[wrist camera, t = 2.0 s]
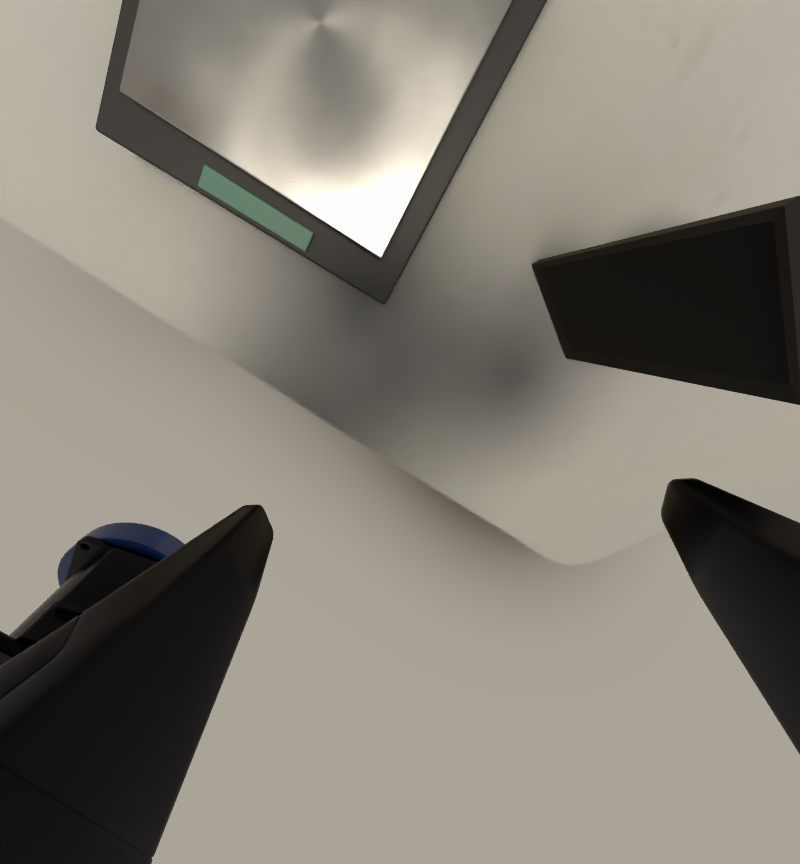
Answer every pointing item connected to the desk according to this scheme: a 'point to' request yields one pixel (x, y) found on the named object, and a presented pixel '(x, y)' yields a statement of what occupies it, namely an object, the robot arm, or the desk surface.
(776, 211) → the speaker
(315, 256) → the scale
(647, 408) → the desk surface
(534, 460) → the desk surface
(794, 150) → the desk surface
